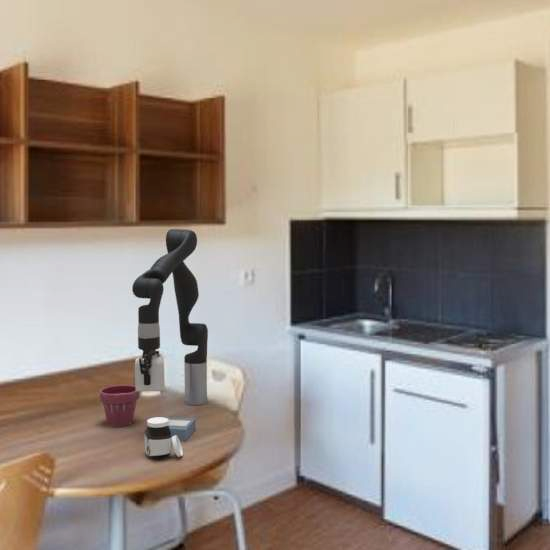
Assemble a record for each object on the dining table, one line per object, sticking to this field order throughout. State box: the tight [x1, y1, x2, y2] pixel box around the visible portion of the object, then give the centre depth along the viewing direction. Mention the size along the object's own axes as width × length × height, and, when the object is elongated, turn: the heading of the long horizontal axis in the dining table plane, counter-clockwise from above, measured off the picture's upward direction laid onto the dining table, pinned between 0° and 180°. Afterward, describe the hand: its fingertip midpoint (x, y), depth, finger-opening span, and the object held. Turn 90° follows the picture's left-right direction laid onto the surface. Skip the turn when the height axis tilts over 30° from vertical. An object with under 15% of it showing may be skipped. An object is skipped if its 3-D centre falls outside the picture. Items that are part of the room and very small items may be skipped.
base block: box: [162, 416, 197, 442], centre depth 235 cm, size 13×14×4 cm
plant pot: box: [99, 384, 140, 427], centre depth 247 cm, size 14×14×13 cm
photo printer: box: [134, 356, 166, 392], centre depth 232 cm, size 10×4×12 cm, turn 88°
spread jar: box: [144, 416, 184, 460], centre depth 213 cm, size 12×11×12 cm
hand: (149, 382), depth 233 cm, fingers closed on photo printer, 4 cm apart
